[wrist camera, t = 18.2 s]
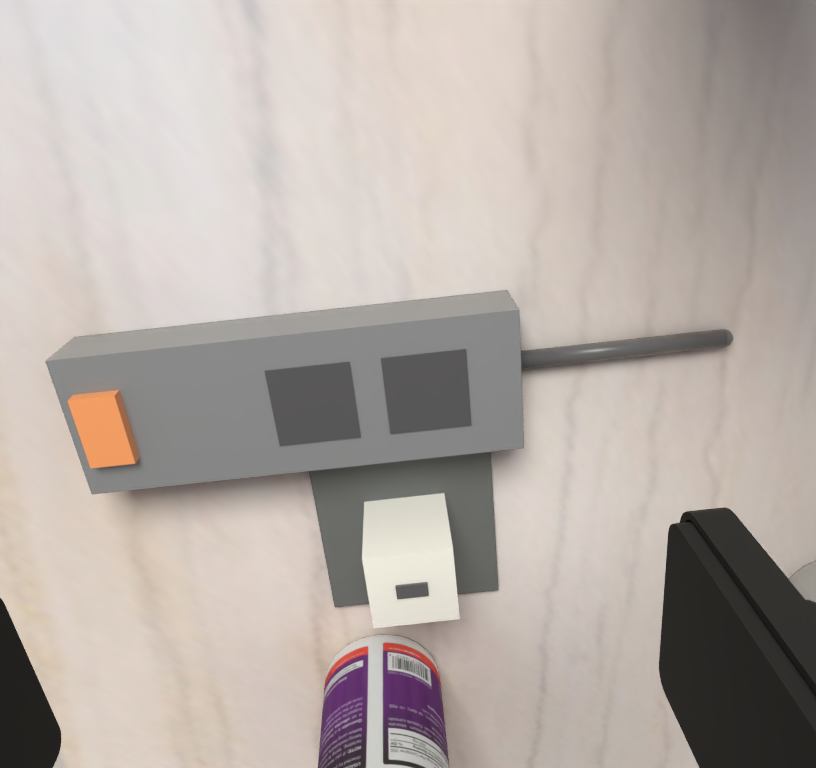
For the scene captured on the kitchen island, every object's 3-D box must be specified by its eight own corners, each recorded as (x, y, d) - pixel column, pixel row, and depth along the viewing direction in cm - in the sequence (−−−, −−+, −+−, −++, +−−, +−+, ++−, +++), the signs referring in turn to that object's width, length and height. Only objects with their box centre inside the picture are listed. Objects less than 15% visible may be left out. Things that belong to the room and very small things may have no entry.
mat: (489, 443, 41) (489, 447, 40) (497, 586, 45) (498, 590, 45) (308, 462, 41) (308, 466, 41) (335, 603, 45) (334, 607, 45)
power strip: (734, 265, 37) (775, 286, 33) (721, 396, 40) (757, 429, 36) (74, 337, 37) (39, 366, 33) (114, 461, 40) (86, 501, 37)
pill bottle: (337, 716, 50) (322, 943, 37) (316, 635, 47) (290, 852, 33) (445, 701, 50) (469, 924, 36) (432, 619, 46) (452, 831, 33)
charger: (444, 493, 42) (453, 550, 37) (450, 557, 44) (459, 620, 39) (364, 501, 42) (361, 560, 37) (374, 566, 44) (373, 630, 39)
